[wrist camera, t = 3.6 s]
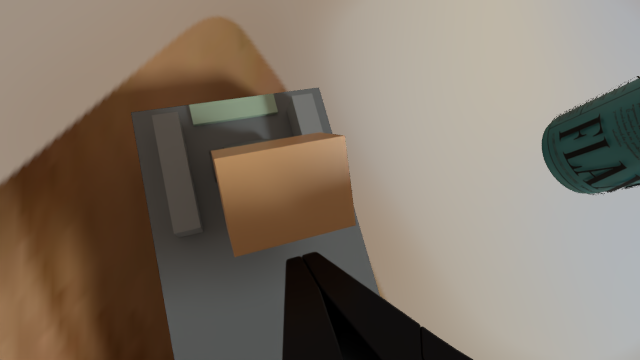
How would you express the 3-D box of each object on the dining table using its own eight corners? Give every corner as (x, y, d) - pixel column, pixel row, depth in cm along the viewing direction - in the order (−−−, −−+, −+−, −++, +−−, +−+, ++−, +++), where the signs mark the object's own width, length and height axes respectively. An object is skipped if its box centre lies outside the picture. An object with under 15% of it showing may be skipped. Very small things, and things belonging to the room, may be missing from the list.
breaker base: (369, 374, 20) (429, 416, 14) (207, 439, 18) (194, 526, 11) (301, 125, 23) (326, 71, 17) (153, 149, 20) (121, 96, 14)
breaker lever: (284, 176, 17) (355, 225, 9) (216, 190, 16) (234, 257, 8) (276, 126, 16) (344, 135, 9) (205, 138, 15) (214, 158, 8)
